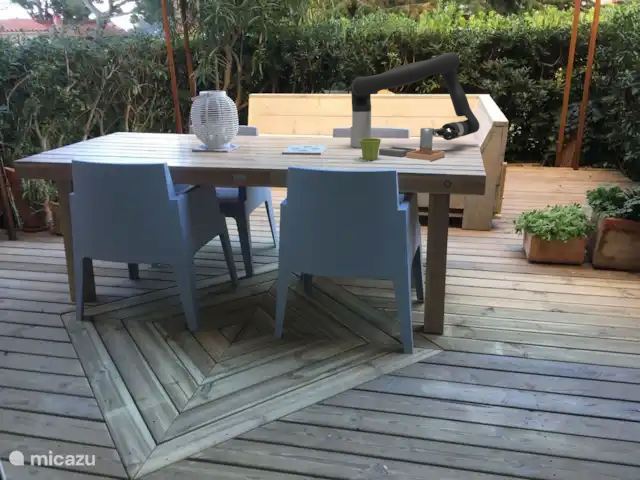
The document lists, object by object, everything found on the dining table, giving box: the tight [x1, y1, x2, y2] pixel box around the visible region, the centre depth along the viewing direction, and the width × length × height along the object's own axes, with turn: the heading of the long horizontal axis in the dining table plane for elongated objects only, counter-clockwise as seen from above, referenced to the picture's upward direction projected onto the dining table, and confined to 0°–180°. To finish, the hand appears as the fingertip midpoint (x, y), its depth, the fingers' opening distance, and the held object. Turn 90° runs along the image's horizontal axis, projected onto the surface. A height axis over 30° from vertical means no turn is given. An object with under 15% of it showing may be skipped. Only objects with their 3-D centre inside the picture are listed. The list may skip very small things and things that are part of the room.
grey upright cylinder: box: [419, 127, 434, 155], centre depth 234 cm, size 5×5×12 cm
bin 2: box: [405, 148, 446, 163], centre depth 235 cm, size 12×12×3 cm
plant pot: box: [359, 137, 382, 162], centre depth 234 cm, size 9×9×9 cm
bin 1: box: [378, 146, 417, 158], centre depth 244 cm, size 12×12×3 cm
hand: (435, 135), depth 239 cm, fingers open, 8 cm apart
